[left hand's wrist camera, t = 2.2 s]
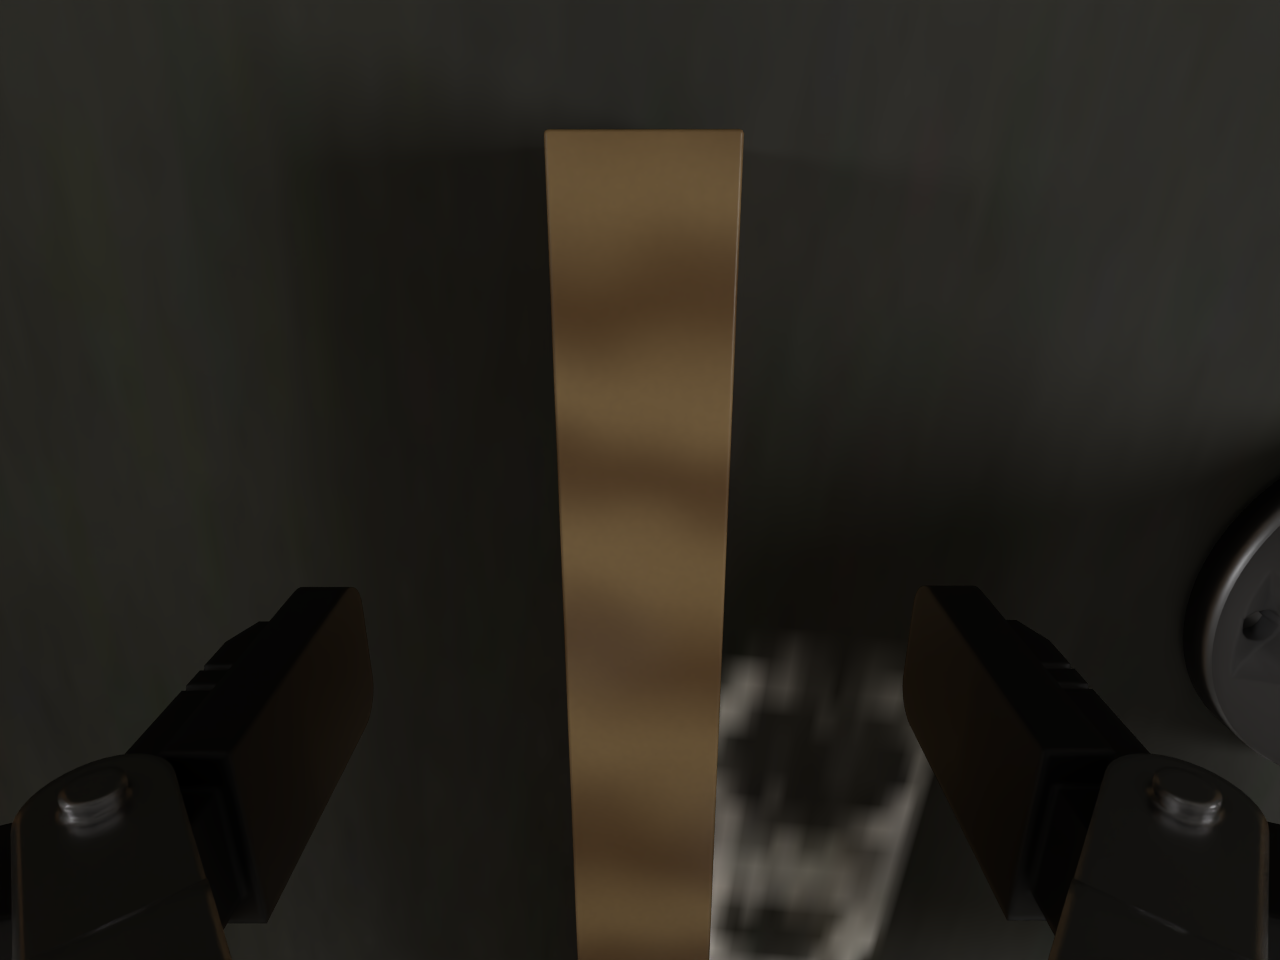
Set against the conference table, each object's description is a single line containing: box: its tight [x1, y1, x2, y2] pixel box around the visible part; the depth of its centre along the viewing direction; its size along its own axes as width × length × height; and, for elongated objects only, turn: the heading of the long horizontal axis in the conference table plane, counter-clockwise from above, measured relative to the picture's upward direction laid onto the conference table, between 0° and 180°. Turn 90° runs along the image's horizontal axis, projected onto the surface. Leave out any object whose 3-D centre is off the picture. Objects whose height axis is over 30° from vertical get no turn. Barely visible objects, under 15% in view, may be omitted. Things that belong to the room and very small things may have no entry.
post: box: [544, 129, 744, 960], centre depth 31 cm, size 52×5×9 cm, turn 0°
